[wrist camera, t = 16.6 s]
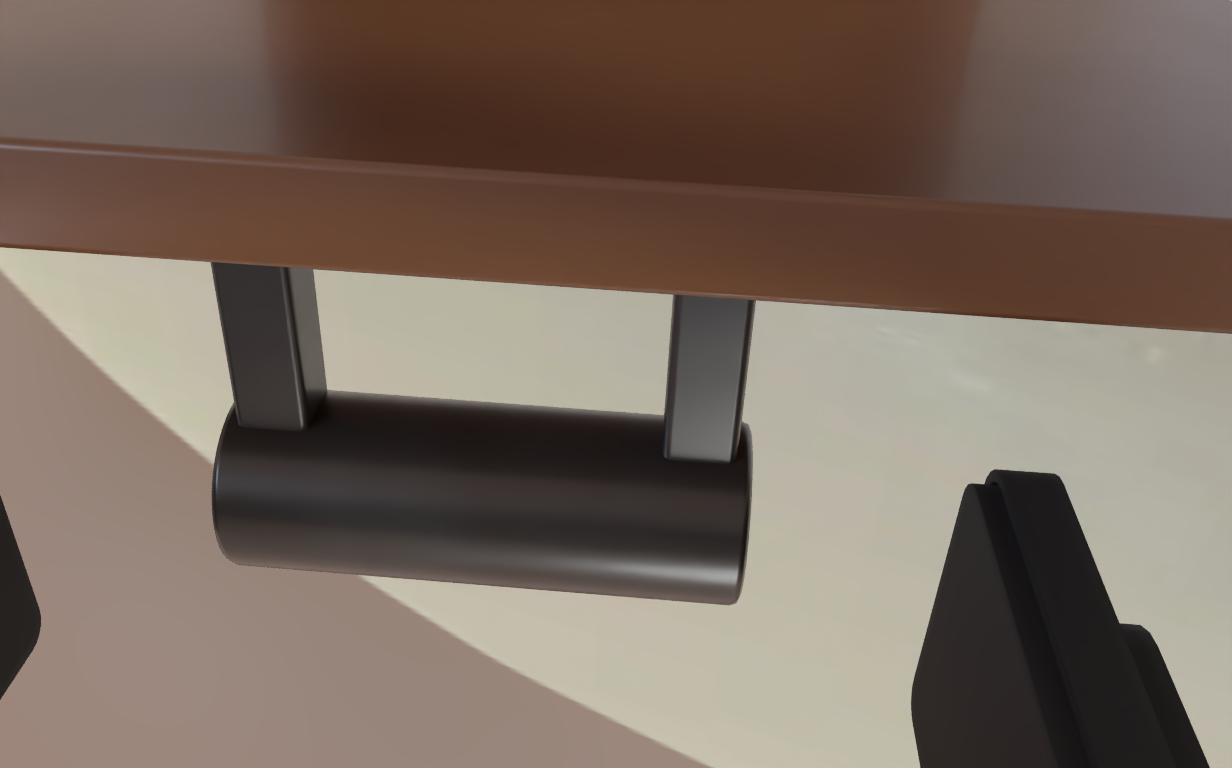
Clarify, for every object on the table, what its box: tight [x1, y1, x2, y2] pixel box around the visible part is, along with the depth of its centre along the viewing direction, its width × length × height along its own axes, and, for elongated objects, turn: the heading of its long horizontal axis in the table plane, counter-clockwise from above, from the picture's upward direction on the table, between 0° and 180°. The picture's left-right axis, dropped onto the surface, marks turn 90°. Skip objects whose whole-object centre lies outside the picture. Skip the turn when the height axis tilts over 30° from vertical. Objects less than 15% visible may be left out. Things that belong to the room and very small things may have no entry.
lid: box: [0, 0, 1232, 605], centre depth 15 cm, size 16×14×5 cm
